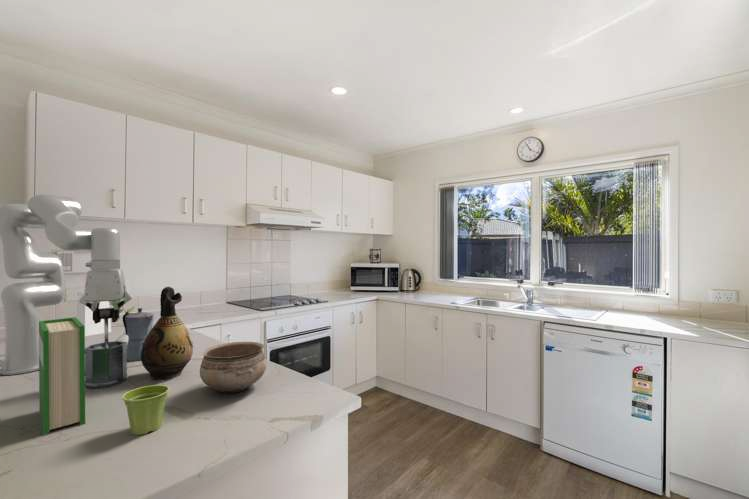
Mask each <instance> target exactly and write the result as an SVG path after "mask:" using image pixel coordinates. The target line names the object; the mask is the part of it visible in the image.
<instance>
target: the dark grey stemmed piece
mask: <svg viewBox="0 0 749 499" xmlns="http://www.w3.org/2000/svg"><path fill="white" fill-rule="evenodd" d="M113 308H114V307H110V308H102V309H98V319H104V333H103V334H104V342H105V348H108V342H109V332H108V319H109V318H110V319H112V310H113Z"/></svg>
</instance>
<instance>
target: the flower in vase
mask: <svg viewBox="0 0 749 499" xmlns="http://www.w3.org/2000/svg"><path fill="white" fill-rule="evenodd" d="M124 299H125V298H123V299H120V300H119V301H120V302H121V301H123V300H124ZM109 305H110V306H112V307H113V303H112V301H109ZM134 310H135V305H134V306H132V307H129V308H128V309H127V310H125V309H124V305H123V306H122V307H121V308H120V309H119V314H121V313H122V312H123V311H124V313H126V312H128V313H132V311H134ZM125 320H126V319H125ZM128 340H129V339H128V335H126V331H125V330H124V332H123V333H122V334H121V335H120V336H119V337H117V338H116V339H115V341H122V342H127V344H128Z"/></svg>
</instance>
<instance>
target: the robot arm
mask: <svg viewBox="0 0 749 499" xmlns="http://www.w3.org/2000/svg"><path fill="white" fill-rule="evenodd" d="M82 212H83V208H82V205H81V203H80V202H79V200H77V199H76V198H73V197H68V196H61V195H54V194H37V195H33V196H32V197H30V198H29V199H28V201H27V204H26V203H6V204H5V203H4V204H1V205H0V240H1V245H2V255H3V256H2V257H3V265H4V271H5V274H6V276H7V277H8V278H9V279H12V280H13V279H15V280H21V279H22V280H23V279H25V280H27V279H42V280H43V281H26V282H25V281H24V282H16V283H12V284H8V285H7V286H5V287H3V289H2V291H1V293H0V298H1V303H2V307H3V312H4V326H5V327H4V328H5V329H4V332H5V334H4V335H5V338H4V340H5V341H4V342H5V346H4V347H5V358H4V359H2V360H0V375H2V376H11V375H12V376H13V375H20V374H26V373H31V372H36V371H39V321H43V319H42V316H41V315H40V314H39V313H38V312H37V311H36V310H35V308H41V307H49V306H57V305H59V304H61V303H62V302H63V301H64V300H65V298H66V291H67V290H66V280H65V279H66V278H65V270H64V264H63V261H62V259H61V257H60V256H59V255H57V254H55V253H51V252H38V251H37V248H36V241H35V239H34V237H33V236H32V235H31V234H30V233H29V232H28V231H27V230H25V229H26V228H27V229H28V228H29V229H30V228H31V229H44V230H45V235H46V239H47V240H48V241H50V243H52V244H53V245H54V246H56V247H57V248H59V249H60V250H61V249H62V250H64V251H70V252H71V251H72V252H73V251H75V252H76V251H77V252H78V251H84V252H85V251H87V252H89V251H90V261H89V262H86V263H85V267H87V268H90V270H87V273H86V277H85V283H84V292H83V293H84V295H83V297H82V298H81V299H80V300H79V302H80V303H81V304H83V305H86V306H87V307H88V308H90V309H91V311H93V321H94V323H95V324H97V323H99V322H101V319H98V309H99V305H100V302H101V301H112V303H113V306H112V308H113V310H112V318H111V323H116V322H118V320H119V319H120V313H119V309H122V306H123V307H124V305H125V304H127V303H128V302H130V301H131V300H132V299H133V298H132V296H131V295H130V294H129V292H128V291H127V289H126V280H125V275H124V274H125V273H124V270H123V269H121V233H120V230H119V229H118V228H115V227H95V228H94V227H91V228H90V227H77V225H78V224H79V220H80V219H79V218H80V217H81V215H82ZM24 228H25V229H24ZM123 298H125V299H124V300H123V301H121V302H120V301H119V300H120V299H123ZM91 302H92V303H91Z"/></svg>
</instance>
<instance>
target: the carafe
mask: <svg viewBox="0 0 749 499" xmlns="http://www.w3.org/2000/svg"><path fill="white" fill-rule="evenodd" d="M127 380H128V361H127V342H122V341H116V340H114V341H108V348H105V341H103V342H100V343H99V342H98V343H95V344H91V345H88V346H87V347H85V389H88V390H89V389H90V390H98V389H105V388H110V387H113V386H114V387H115V386H117V385H118V386H119V385H120V384H122V383H125V382H126V381H127Z"/></svg>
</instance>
